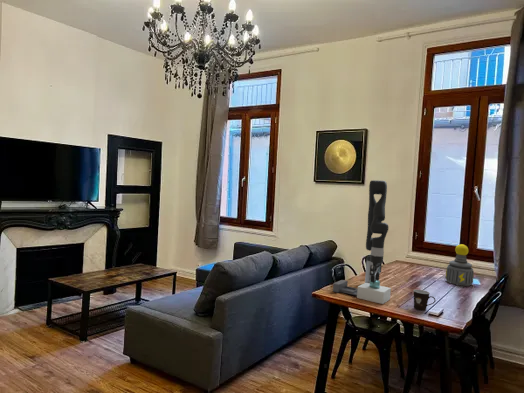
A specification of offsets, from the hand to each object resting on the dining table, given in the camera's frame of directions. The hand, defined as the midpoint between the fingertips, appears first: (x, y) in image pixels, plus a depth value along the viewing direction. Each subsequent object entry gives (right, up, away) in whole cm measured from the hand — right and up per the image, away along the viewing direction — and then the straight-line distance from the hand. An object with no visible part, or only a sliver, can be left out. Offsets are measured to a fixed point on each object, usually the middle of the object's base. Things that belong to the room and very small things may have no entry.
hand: (374, 280), depth 234 cm
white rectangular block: (-1, -11, +1) cm, 11 cm away
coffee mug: (+23, -13, -15) cm, 30 cm away
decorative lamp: (+82, -15, +60) cm, 103 cm away
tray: (-13, -9, +9) cm, 18 cm away
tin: (0, -4, 0) cm, 4 cm away
